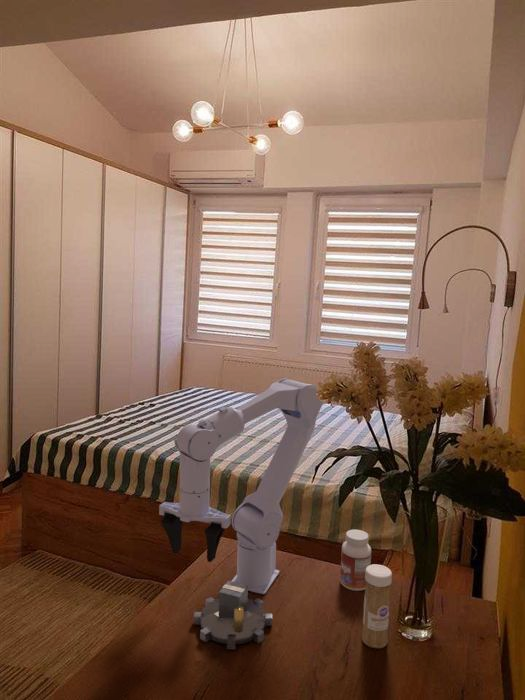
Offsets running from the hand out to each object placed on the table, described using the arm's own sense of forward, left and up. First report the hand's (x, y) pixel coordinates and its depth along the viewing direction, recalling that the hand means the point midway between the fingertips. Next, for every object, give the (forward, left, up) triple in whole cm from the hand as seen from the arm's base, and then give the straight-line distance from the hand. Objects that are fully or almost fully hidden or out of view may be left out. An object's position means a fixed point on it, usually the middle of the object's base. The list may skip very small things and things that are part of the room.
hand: (193, 555), depth 102 cm
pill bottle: (-20, +28, -10) cm, 36 cm away
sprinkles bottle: (-3, +35, -10) cm, 37 cm away
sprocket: (+3, +10, -10) cm, 14 cm away
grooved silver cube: (+3, +10, -8) cm, 13 cm away
